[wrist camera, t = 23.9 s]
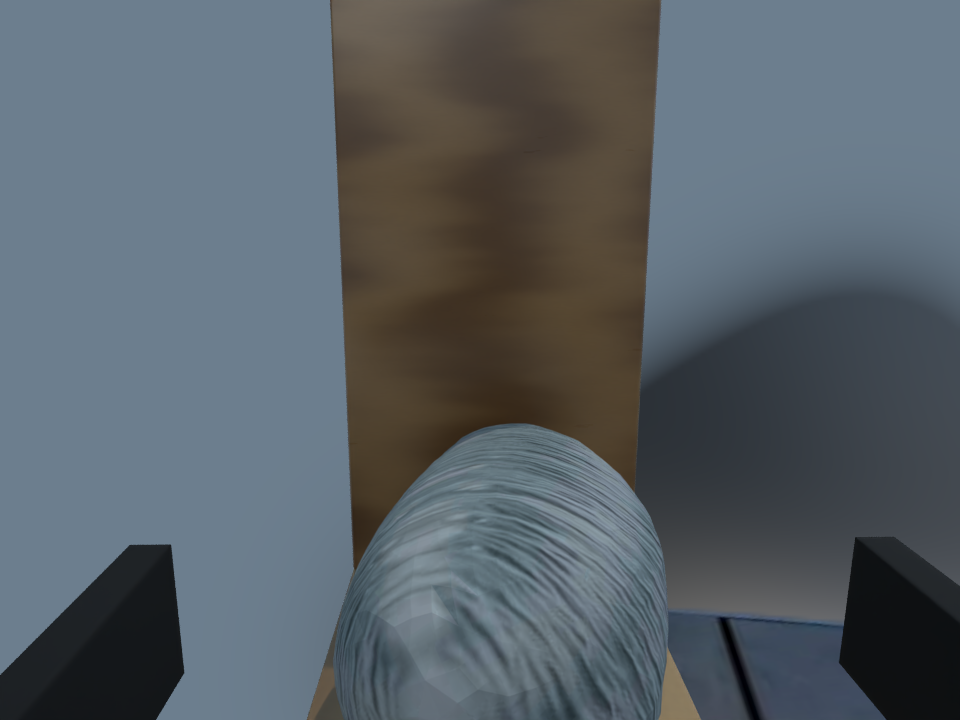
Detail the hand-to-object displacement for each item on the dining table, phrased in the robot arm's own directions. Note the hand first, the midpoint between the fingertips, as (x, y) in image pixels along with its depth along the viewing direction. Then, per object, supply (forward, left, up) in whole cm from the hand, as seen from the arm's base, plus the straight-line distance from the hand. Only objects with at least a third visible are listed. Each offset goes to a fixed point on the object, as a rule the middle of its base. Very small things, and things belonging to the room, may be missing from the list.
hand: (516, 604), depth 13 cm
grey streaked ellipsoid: (0, +6, -8) cm, 10 cm away
